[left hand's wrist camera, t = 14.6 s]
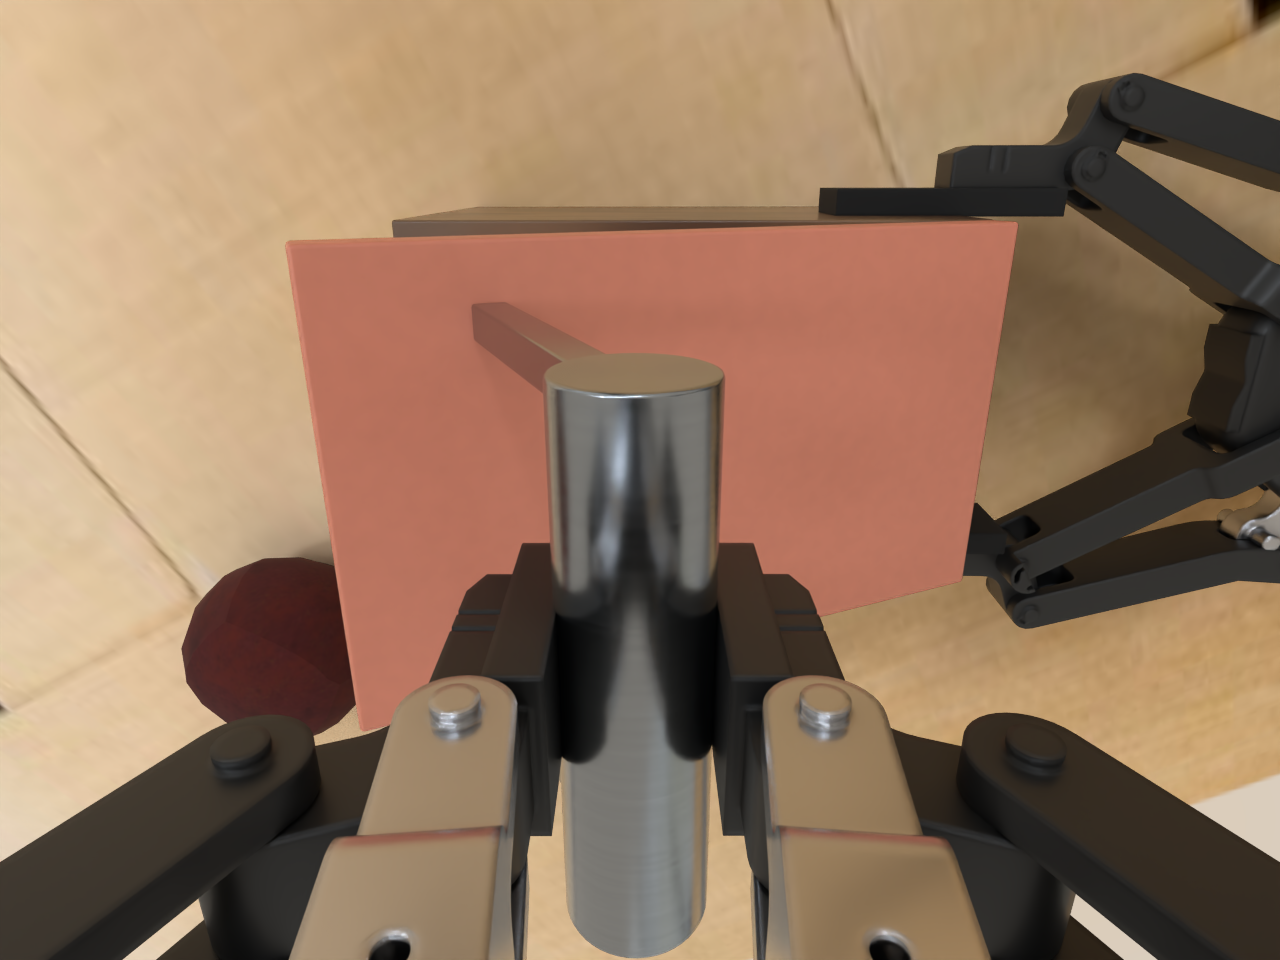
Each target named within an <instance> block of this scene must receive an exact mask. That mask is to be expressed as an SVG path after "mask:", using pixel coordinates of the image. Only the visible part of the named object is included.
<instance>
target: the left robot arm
mask: <svg viewBox="0 0 1280 960" xmlns="http://www.w3.org/2000/svg"><path fill="white" fill-rule="evenodd" d="M823 628H824V627H823V624H822V622H821V619H820V617H819V614H817V609H816V607H815V604H814V602H813V599H812V597H811V594H810V592H809V590H807V589H806V588H805V587H804V586H803V585H801V584H800V583H799V582H798V581H797V580H795V579H794V578H793V577H792V576H790V575H789V574H763V572H762V569H761V565H760V562H759V559H758V555H757V552H756V549H755V546H754V543H719V565H718V592H717V620H716V647H715V674H714V701H713V728H712V749H713V757H714V765H715V774H716V782H717V790H718V798H719V806H720V814H721V822H722V830H723V836H744V837H745V844H746V850H747V857H748V861H749V865H750V867H751V869H752V874H751V912H752V936H753V960H1124V959H1122V958H1121V957H1120V956H1119V955H1118V954H1116V953H1115V952H1114V951H1113V950H1111V949H1110V948H1109V947H1108V946H1107V945H1106V944H1104V943H1103V942H1102V941H1101V940H1099V939H1098V938H1097V937H1096V936H1095V935H1094V934H1092V933H1091V932H1090V931H1089V930H1088V929H1086V928H1085V927H1084V926H1083V925H1082V924H1080V923H1079V922H1078V921H1077V920H1076V919H1074V918H1073V917H1072V916H1071V915H1070V913H1071V910H1072V906H1073V902H1074V898H1075V895H1076V894H1077V895H1078V896H1079V897H1081V898H1082V899H1083V900H1084V901H1085V902H1087V903H1088V904H1089V905H1090V906H1092V907H1093V908H1094V909H1095V910H1097V911H1098V912H1099V913H1100V914H1102V915H1103V916H1104V917H1105V918H1107V919H1108V920H1109V921H1110V922H1112V923H1113V924H1114V925H1115V926H1116V927H1118V928H1119V929H1120V930H1121V931H1123V932H1124V933H1125V934H1126V935H1128V936H1129V937H1130V938H1131V939H1133V940H1134V941H1135V942H1136V943H1138V944H1139V945H1140V946H1141V947H1143V948H1144V949H1145V950H1146V951H1148V952H1149V953H1150V954H1151V955H1152V956H1154V957H1155V958H1156V959H1157V960H1280V862H1279V861H1277V860H1275V859H1274V858H1272V857H1271V856H1269V855H1267V854H1266V853H1264V852H1263V851H1261V850H1260V849H1258V848H1256V847H1255V846H1253V845H1252V844H1250V843H1248V842H1247V841H1245V840H1244V839H1242V838H1240V837H1239V836H1237V835H1236V834H1234V833H1232V832H1231V831H1229V830H1228V829H1226V828H1225V827H1223V826H1221V825H1220V824H1218V823H1217V822H1215V821H1213V820H1212V819H1210V818H1209V817H1207V816H1205V815H1204V814H1202V813H1201V812H1199V811H1197V810H1196V809H1194V808H1193V807H1191V806H1189V805H1188V804H1186V803H1185V802H1183V801H1182V800H1180V799H1178V798H1177V797H1175V796H1174V795H1172V794H1170V793H1169V792H1167V791H1166V790H1164V789H1162V788H1161V787H1159V786H1158V785H1156V784H1154V783H1153V782H1151V781H1150V780H1148V779H1146V778H1145V777H1143V776H1142V775H1140V774H1139V773H1137V772H1135V771H1134V770H1132V769H1131V768H1129V767H1127V766H1126V765H1124V764H1123V763H1121V762H1119V761H1118V760H1116V759H1115V758H1113V757H1111V756H1110V755H1108V754H1107V753H1105V752H1103V751H1102V750H1100V749H1099V748H1097V747H1096V746H1094V745H1092V744H1091V743H1089V742H1088V741H1086V740H1084V739H1083V738H1081V737H1080V736H1078V735H1076V734H1075V733H1073V732H1071V731H1069V730H1068V729H1066V728H1064V727H1062V726H1060V725H1057V724H1055V723H1053V722H1050V721H1047V720H1044V719H1041V718H1038V717H1034V716H1030V715H1024V714H1018V713H994V714H988V715H985V716H982V717H979V718H977V719H975V720H974V721H972V722H971V723H970V724H969V725H968V726H967V728H966V729H965V731H964V735H963V741H962V746H958V745H953V744H948V743H944V742H939V741H935V740H930V739H925V738H921V737H917V736H913V735H909V734H905V733H903V732H900V731H897V730H894V729H892V728H891V727H890V724H889V721H888V718H887V714H886V712H885V710H884V708H883V707H882V705H881V704H880V702H879V701H878V700H877V699H876V698H875V697H874V696H873V695H871V694H870V693H869V692H867V691H866V690H864V689H862V688H861V687H859V686H857V685H855V684H852V683H850V682H847V681H845V679H844V677H843V674H842V672H841V669H840V667H839V664H838V662H837V659H836V657H835V654H834V652H833V649H832V647H831V644H830V642H829V639H828V637H827V634H826V632H825V631H824V629H823ZM561 761H562V745H561V723H560V700H559V677H558V654H557V631H556V612H555V610H554V607H553V596H552V575H551V553H550V543H522V545H521V548H520V551H519V554H518V558H517V561H516V564H515V567H514V570H513V573H512V574H487V575H485V576H484V577H483V578H482V579H481V580H479V581H478V582H477V583H476V584H474V585H473V586H472V587H471V588H470V589H468V590H467V591H466V593H465V596H464V598H463V601H462V603H461V605H460V608H459V610H458V615H456V618H455V620H454V622H453V625H452V631H450V632H449V635H448V637H447V640H446V642H445V644H444V647H443V649H442V652H441V654H440V657H439V659H438V661H437V664H436V666H435V669H434V671H433V674H432V676H431V678H430V681H429V683H428V684H425V685H423V686H421V687H419V688H418V689H416V690H414V691H413V692H411V693H410V694H409V695H407V696H406V697H405V698H404V699H403V700H402V701H401V702H400V704H399V705H398V706H397V708H396V710H395V712H394V714H393V717H392V721H391V724H390V725H389V726H387V727H385V728H383V729H380V730H378V731H375V732H372V733H370V734H366V735H363V736H359V737H355V738H350V739H346V740H341V741H336V742H332V743H327V744H323V745H318V746H315V742H314V737H313V733H312V731H311V729H310V728H309V727H308V726H307V725H306V724H305V723H304V722H302V721H300V720H298V719H296V718H293V717H290V716H284V715H258V716H252V717H247V718H243V719H239V720H235V721H232V722H230V723H227V724H224V725H222V726H219V727H217V728H215V729H213V730H211V731H209V732H207V733H206V734H204V735H202V736H200V737H199V738H197V739H196V740H194V741H192V742H191V743H189V744H188V745H186V746H184V747H183V748H181V749H180V750H178V751H176V752H175V753H173V754H172V755H170V756H169V757H167V758H165V759H164V760H162V761H161V762H159V763H157V764H156V765H154V766H153V767H151V768H149V769H148V770H146V771H145V772H143V773H141V774H140V775H138V776H137V777H135V778H133V779H132V780H130V781H129V782H127V783H126V784H124V785H122V786H121V787H119V788H118V789H116V790H114V791H113V792H111V793H110V794H108V795H106V796H105V797H103V798H102V799H100V800H98V801H97V802H95V803H94V804H92V805H90V806H89V807H87V808H86V809H84V810H83V811H81V812H79V813H78V814H76V815H75V816H73V817H71V818H70V819H68V820H67V821H65V822H63V823H62V824H60V825H59V826H57V827H55V828H54V829H52V830H51V831H49V832H47V833H46V834H44V835H43V836H41V837H40V838H38V839H36V840H35V841H33V842H32V843H30V844H28V845H27V846H25V847H24V848H22V849H20V850H19V851H17V852H16V853H14V854H12V855H11V856H9V857H8V858H6V859H4V860H3V861H1V862H0V960H123V959H124V958H125V957H126V956H128V955H129V954H130V953H131V952H132V951H134V950H135V949H136V948H137V947H139V946H140V945H141V944H142V943H144V942H145V941H146V940H147V939H149V938H150V937H151V936H152V935H154V934H155V933H156V932H157V931H159V930H160V929H161V928H162V927H163V926H165V925H166V924H167V923H168V922H170V921H171V920H172V919H173V918H175V917H176V916H177V915H178V914H180V913H181V912H182V911H183V910H185V909H186V908H187V907H188V906H190V905H191V904H192V903H193V902H195V901H196V900H197V899H198V898H199V902H200V906H201V910H202V913H203V917H204V920H203V921H202V922H201V923H200V924H198V925H197V926H196V927H195V928H194V929H192V930H191V931H190V932H189V933H188V934H186V935H185V936H184V937H183V938H182V939H180V940H179V941H178V942H177V943H176V944H174V945H173V946H172V947H171V948H170V949H168V950H167V951H166V952H165V953H164V954H162V955H161V956H160V957H159V958H158V959H156V960H526V959H527V935H528V910H529V875H528V861H527V853H528V846H529V840H530V836H552V829H553V822H554V814H555V806H556V799H557V791H558V783H559V776H560V768H561Z"/></svg>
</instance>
